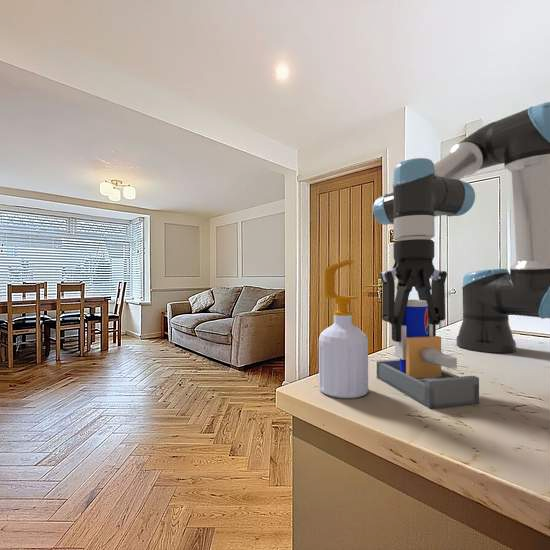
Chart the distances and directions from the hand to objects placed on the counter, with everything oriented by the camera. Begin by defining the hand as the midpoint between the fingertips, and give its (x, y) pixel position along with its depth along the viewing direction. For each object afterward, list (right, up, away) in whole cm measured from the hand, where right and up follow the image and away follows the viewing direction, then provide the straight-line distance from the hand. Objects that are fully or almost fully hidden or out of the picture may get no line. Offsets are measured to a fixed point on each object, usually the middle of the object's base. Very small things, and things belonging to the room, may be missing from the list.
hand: (413, 356), depth 66 cm
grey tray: (0, -6, -2) cm, 6 cm away
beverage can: (0, -4, 0) cm, 4 cm away
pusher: (+1, -3, -6) cm, 7 cm away
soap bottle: (-15, -6, -3) cm, 16 cm away
